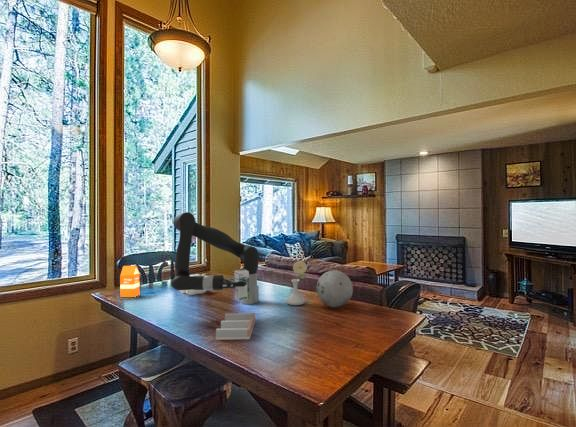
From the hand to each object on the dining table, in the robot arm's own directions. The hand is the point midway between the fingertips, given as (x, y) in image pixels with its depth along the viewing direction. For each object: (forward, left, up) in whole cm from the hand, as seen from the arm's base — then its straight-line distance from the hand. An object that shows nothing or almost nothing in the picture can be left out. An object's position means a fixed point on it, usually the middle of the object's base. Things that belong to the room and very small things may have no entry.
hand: (245, 282), depth 160 cm
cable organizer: (-1, -67, -18) cm, 69 cm away
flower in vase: (-34, 0, -18) cm, 39 cm away
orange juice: (+33, -87, -18) cm, 95 cm away
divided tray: (+13, +12, -18) cm, 25 cm away
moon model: (-46, +18, -18) cm, 53 cm away
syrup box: (+2, -1, -9) cm, 9 cm away
